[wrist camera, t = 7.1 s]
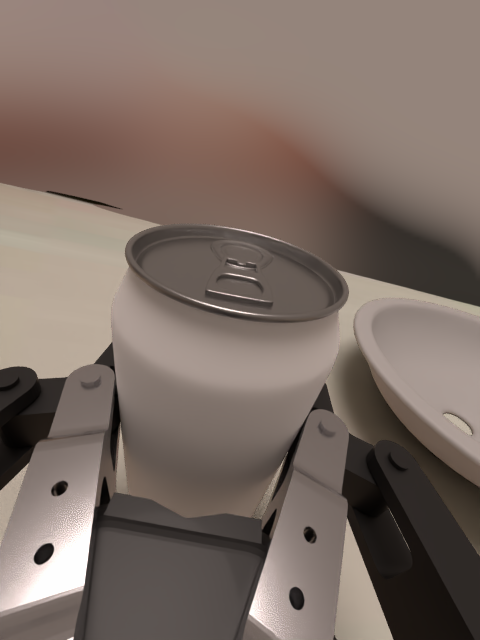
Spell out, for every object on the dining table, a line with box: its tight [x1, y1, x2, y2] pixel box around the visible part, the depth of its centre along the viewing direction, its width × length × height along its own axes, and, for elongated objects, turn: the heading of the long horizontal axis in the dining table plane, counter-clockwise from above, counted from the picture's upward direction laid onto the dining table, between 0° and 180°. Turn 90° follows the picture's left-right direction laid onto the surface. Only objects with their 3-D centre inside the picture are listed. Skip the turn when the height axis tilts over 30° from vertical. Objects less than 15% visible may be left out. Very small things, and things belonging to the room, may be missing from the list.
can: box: [111, 224, 349, 518], centre depth 10 cm, size 6×6×12 cm
